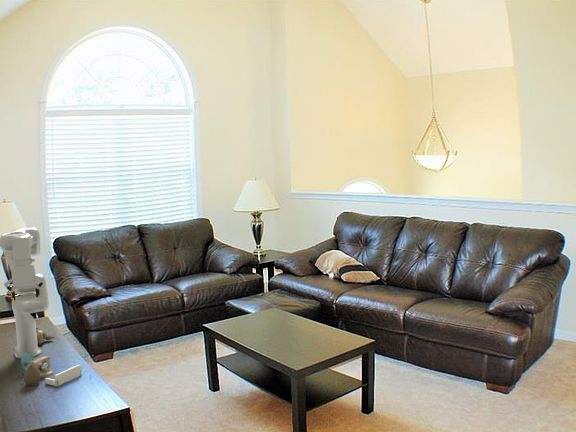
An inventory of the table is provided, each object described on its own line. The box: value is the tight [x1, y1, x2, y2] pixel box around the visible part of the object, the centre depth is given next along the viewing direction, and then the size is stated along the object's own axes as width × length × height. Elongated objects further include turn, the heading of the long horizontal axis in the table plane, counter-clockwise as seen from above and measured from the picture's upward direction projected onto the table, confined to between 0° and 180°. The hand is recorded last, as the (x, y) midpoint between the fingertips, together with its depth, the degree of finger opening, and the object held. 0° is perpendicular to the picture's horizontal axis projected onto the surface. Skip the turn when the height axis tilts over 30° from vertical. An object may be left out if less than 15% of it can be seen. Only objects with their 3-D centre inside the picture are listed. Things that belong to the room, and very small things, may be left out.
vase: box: [23, 365, 41, 387], centre depth 260 cm, size 7×7×9 cm
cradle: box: [44, 364, 82, 387], centre depth 264 cm, size 8×14×5 cm, turn 152°
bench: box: [23, 356, 54, 379], centre depth 272 cm, size 13×8×7 cm, turn 62°
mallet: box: [20, 352, 49, 372], centre depth 273 cm, size 14×5×8 cm, turn 62°
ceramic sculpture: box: [36, 327, 56, 345], centre depth 320 cm, size 11×9×15 cm
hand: (26, 298), depth 268 cm, fingers open, 9 cm apart
